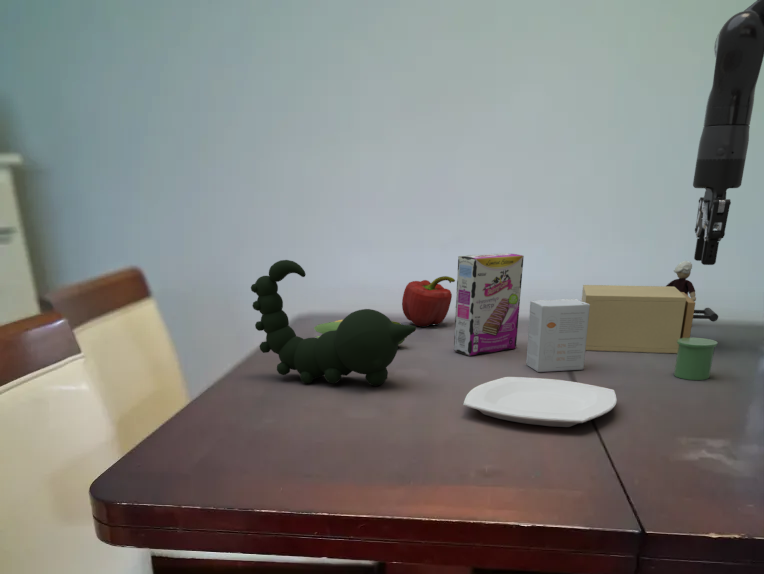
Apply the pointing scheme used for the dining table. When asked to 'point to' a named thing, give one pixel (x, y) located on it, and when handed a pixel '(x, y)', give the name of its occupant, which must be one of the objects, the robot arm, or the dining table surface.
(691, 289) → the grandmother figurine
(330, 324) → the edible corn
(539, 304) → the small box
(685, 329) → the drawer
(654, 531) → the dining table surface
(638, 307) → the cabinet
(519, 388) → the plate
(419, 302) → the vegetable
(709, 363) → the pot
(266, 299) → the toy figurine
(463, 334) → the candy bar box
